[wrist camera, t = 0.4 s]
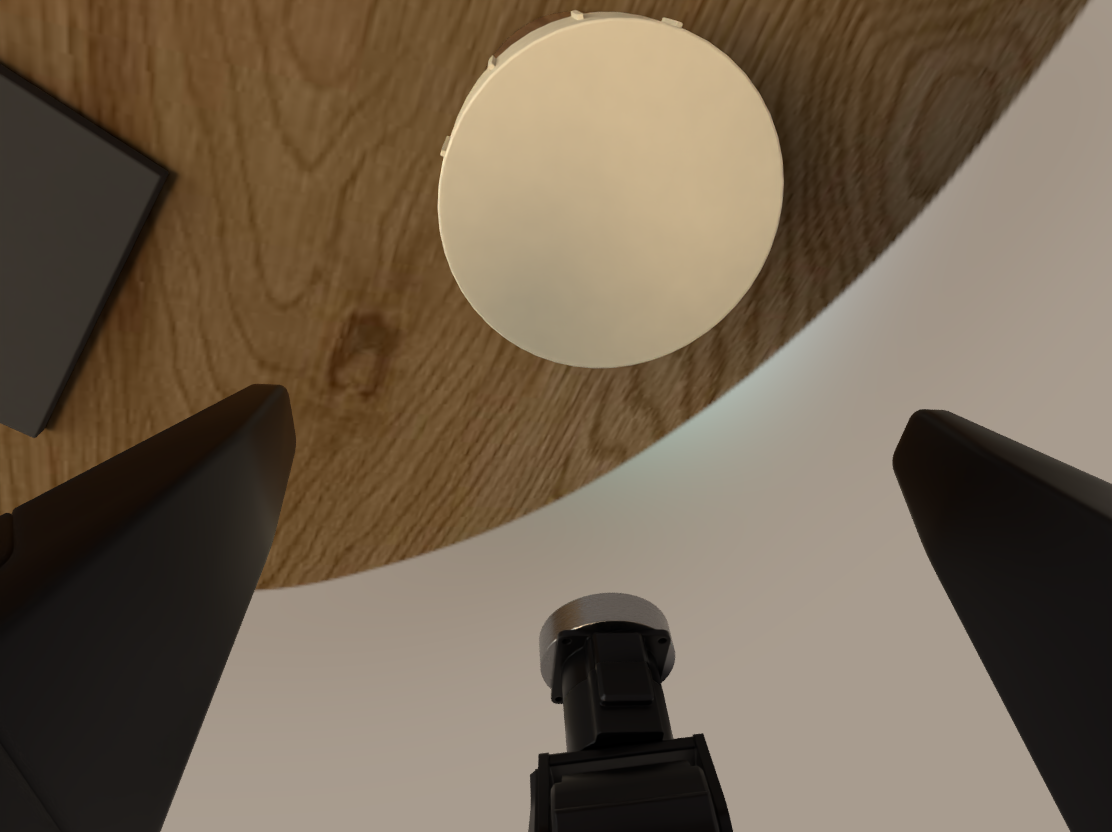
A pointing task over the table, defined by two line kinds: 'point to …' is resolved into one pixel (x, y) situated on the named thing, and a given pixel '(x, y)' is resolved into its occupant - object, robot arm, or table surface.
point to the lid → (609, 189)
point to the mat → (58, 241)
